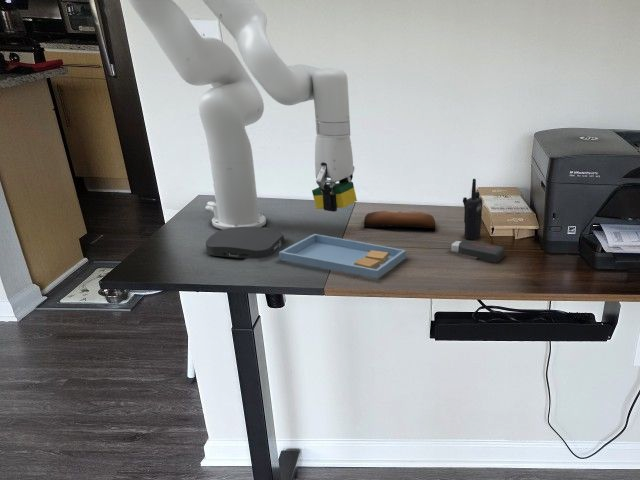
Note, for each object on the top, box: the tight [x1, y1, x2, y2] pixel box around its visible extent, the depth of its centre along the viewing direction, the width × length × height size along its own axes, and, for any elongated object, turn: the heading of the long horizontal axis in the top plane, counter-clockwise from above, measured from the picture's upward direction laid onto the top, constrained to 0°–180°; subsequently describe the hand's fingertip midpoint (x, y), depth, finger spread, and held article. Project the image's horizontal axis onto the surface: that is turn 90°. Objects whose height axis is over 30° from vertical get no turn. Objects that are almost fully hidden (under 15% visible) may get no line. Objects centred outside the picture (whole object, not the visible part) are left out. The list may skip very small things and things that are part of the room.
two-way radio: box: [462, 178, 483, 241], centre depth 167 cm, size 6×4×15 cm
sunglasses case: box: [363, 210, 436, 231], centre depth 173 cm, size 18×7×7 cm
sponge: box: [311, 181, 358, 210], centre depth 160 cm, size 8×6×4 cm
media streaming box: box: [205, 226, 285, 259], centre depth 152 cm, size 15×15×3 cm
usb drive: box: [450, 239, 506, 264], centre depth 159 cm, size 5×12×3 cm, turn 70°
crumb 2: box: [365, 250, 388, 264], centre depth 150 cm, size 4×4×1 cm
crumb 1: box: [354, 257, 380, 269], centre depth 146 cm, size 4×4×1 cm
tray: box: [278, 233, 407, 280], centre depth 150 cm, size 23×14×2 cm, turn 73°
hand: (338, 206), depth 162 cm, fingers closed on sponge, 6 cm apart
